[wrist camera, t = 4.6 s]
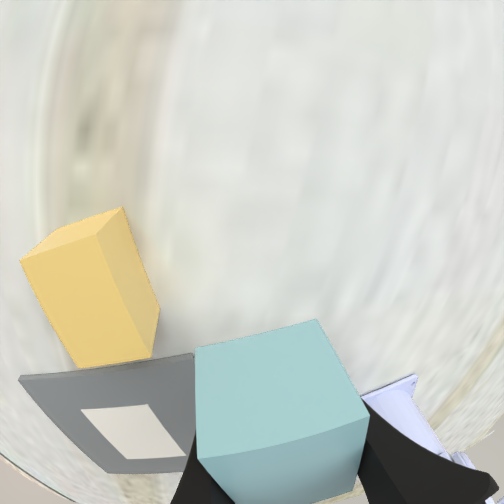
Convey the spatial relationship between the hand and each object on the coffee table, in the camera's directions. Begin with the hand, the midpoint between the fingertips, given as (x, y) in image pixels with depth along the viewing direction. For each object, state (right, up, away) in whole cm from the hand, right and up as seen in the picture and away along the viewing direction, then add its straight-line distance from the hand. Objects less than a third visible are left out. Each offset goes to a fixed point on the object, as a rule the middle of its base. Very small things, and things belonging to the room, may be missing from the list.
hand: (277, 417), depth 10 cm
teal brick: (0, +1, +1) cm, 1 cm away
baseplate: (-11, -9, +11) cm, 18 cm away
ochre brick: (-9, +5, +6) cm, 12 cm away
